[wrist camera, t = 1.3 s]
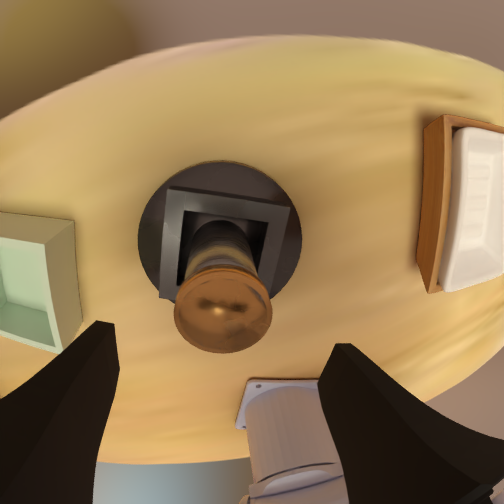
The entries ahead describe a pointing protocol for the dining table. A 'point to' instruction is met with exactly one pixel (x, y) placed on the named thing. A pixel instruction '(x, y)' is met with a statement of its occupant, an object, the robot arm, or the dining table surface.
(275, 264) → the mount
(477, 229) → the soap dish
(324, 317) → the dining table surface
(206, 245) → the jar with copper lid
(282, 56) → the dining table surface
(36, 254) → the bin
